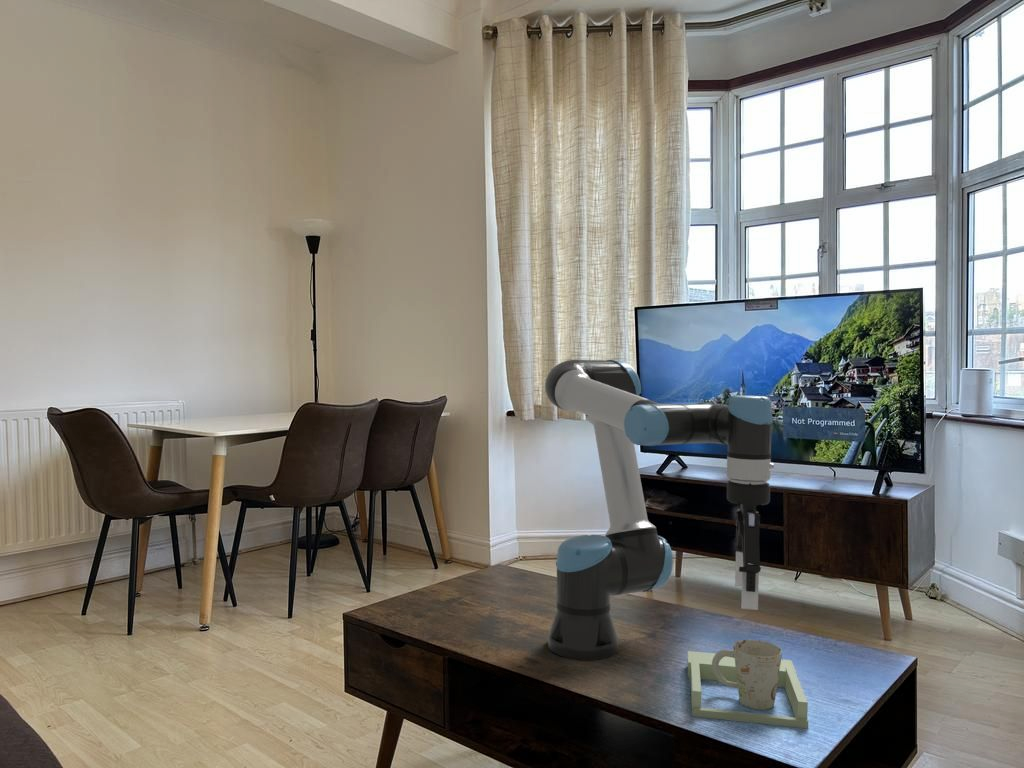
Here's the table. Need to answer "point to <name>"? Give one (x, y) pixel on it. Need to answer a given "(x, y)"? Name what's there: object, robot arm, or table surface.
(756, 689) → the mug
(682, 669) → the table surface
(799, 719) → the pale green rectangular frame
